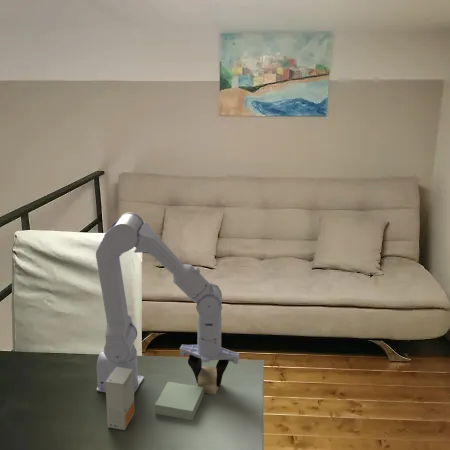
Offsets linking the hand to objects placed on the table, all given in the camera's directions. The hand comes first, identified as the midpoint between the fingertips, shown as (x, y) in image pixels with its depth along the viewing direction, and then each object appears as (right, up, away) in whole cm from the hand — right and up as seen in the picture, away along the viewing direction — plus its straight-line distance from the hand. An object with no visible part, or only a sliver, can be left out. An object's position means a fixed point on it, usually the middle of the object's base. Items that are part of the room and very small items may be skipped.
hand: (209, 382), depth 125 cm
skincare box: (-19, -5, -11) cm, 23 cm away
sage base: (-7, -3, -6) cm, 10 cm away
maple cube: (0, -1, 0) cm, 1 cm away
